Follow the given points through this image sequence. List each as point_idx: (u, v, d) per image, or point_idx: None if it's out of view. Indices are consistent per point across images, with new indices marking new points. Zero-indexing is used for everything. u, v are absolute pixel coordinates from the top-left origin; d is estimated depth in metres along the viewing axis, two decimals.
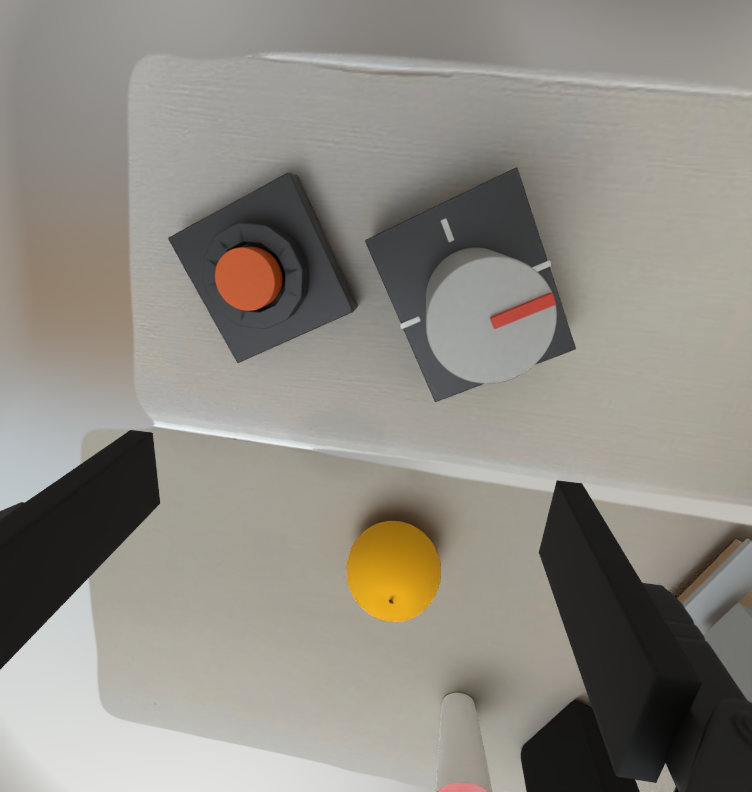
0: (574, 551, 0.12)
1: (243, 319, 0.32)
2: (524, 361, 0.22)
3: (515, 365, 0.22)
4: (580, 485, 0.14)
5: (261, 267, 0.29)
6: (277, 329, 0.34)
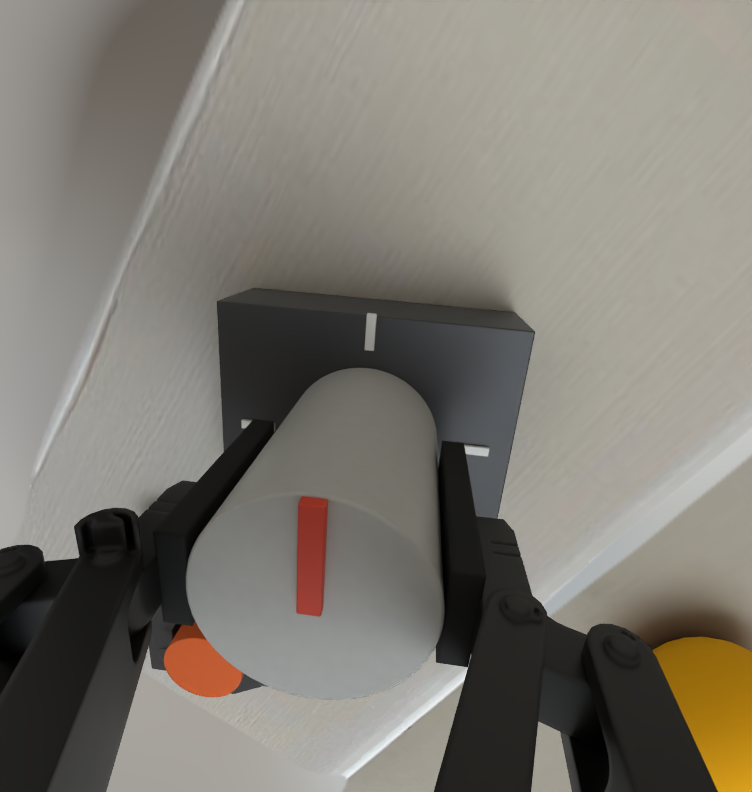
0: (441, 496, 0.14)
1: None
2: (419, 591, 0.10)
3: (418, 608, 0.10)
4: (463, 444, 0.16)
5: (196, 647, 0.22)
6: None
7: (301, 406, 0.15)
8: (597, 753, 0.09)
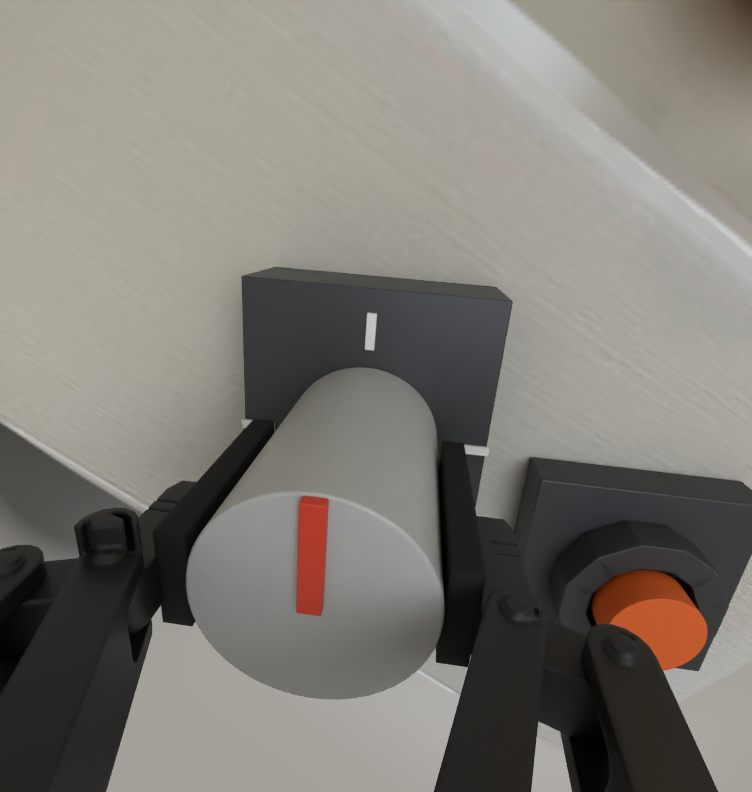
0: (441, 496, 0.14)
1: (704, 578, 0.19)
2: (419, 591, 0.10)
3: (418, 608, 0.10)
4: (463, 444, 0.16)
5: None
6: (667, 515, 0.21)
7: (301, 405, 0.15)
8: (597, 753, 0.09)
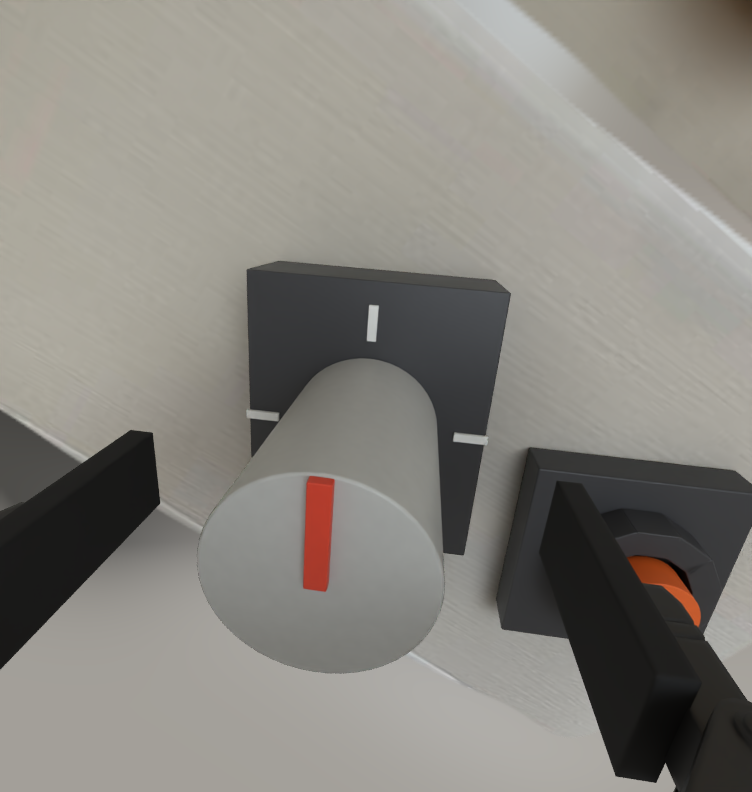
0: (573, 551, 0.12)
1: (698, 563, 0.20)
2: (420, 568, 0.10)
3: (419, 585, 0.11)
4: (580, 485, 0.14)
5: None
6: (662, 503, 0.21)
7: (306, 394, 0.16)
8: None
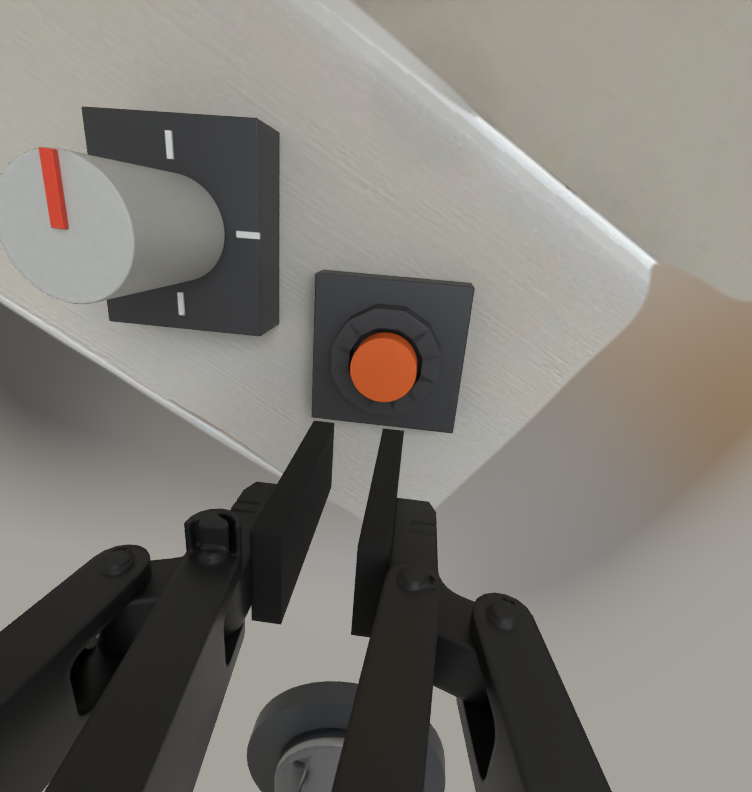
0: None
1: (420, 333, 0.28)
2: (115, 211, 0.18)
3: (117, 224, 0.18)
4: (403, 432, 0.16)
5: (359, 372, 0.28)
6: (405, 298, 0.29)
7: None
8: (489, 715, 0.09)
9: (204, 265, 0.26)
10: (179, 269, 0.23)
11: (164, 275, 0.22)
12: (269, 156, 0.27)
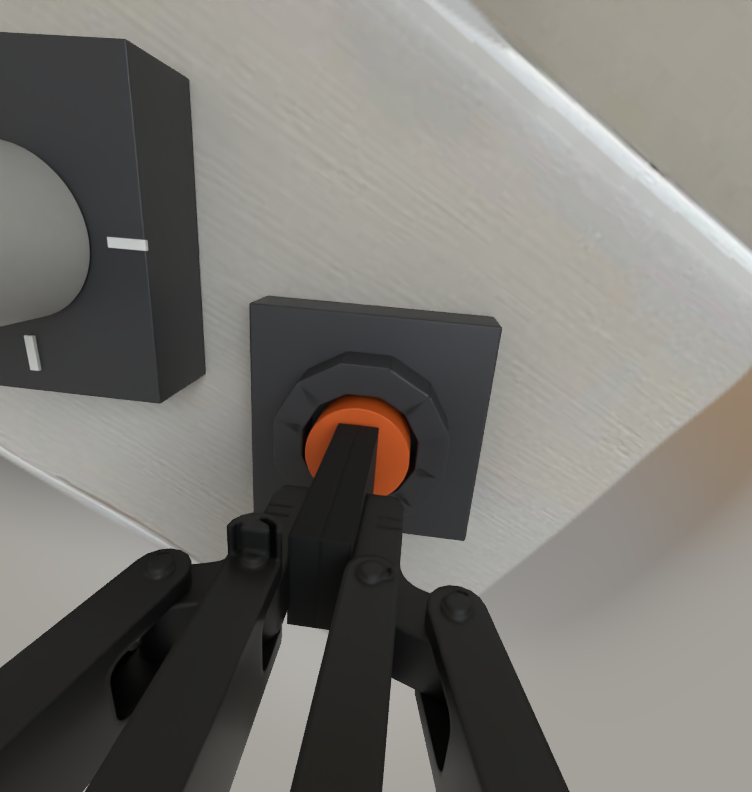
0: None
1: (415, 402, 0.17)
2: None
3: None
4: (378, 428, 0.17)
5: (319, 458, 0.18)
6: (391, 343, 0.18)
7: None
8: (446, 707, 0.09)
9: (44, 295, 0.15)
10: None
11: None
12: (165, 113, 0.16)
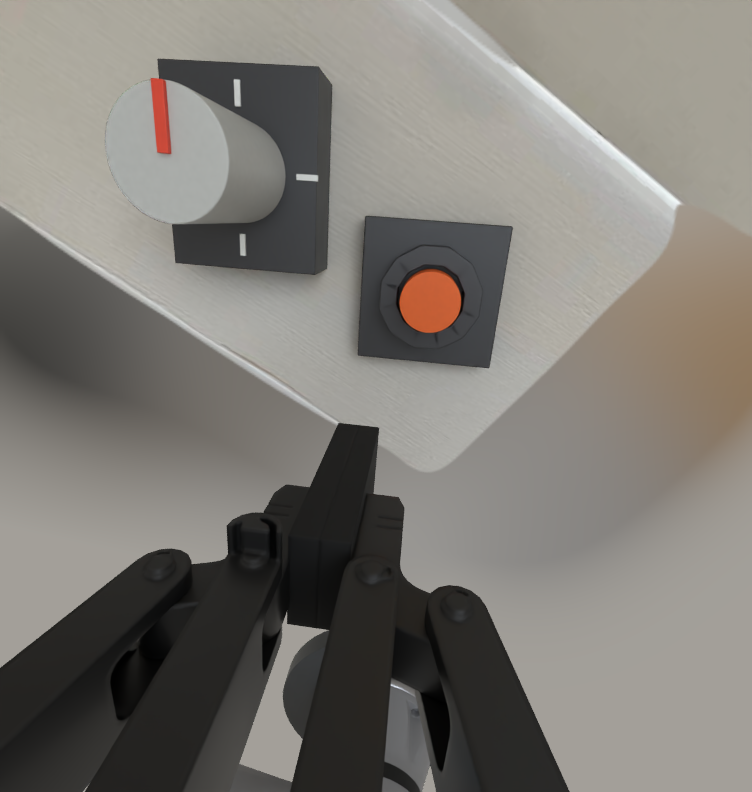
0: None
1: (464, 268, 0.30)
2: (214, 137, 0.21)
3: (215, 149, 0.21)
4: (378, 429, 0.17)
5: (408, 304, 0.30)
6: (448, 238, 0.31)
7: None
8: (446, 707, 0.09)
9: (269, 203, 0.28)
10: (252, 202, 0.26)
11: (242, 206, 0.25)
12: (325, 105, 0.29)
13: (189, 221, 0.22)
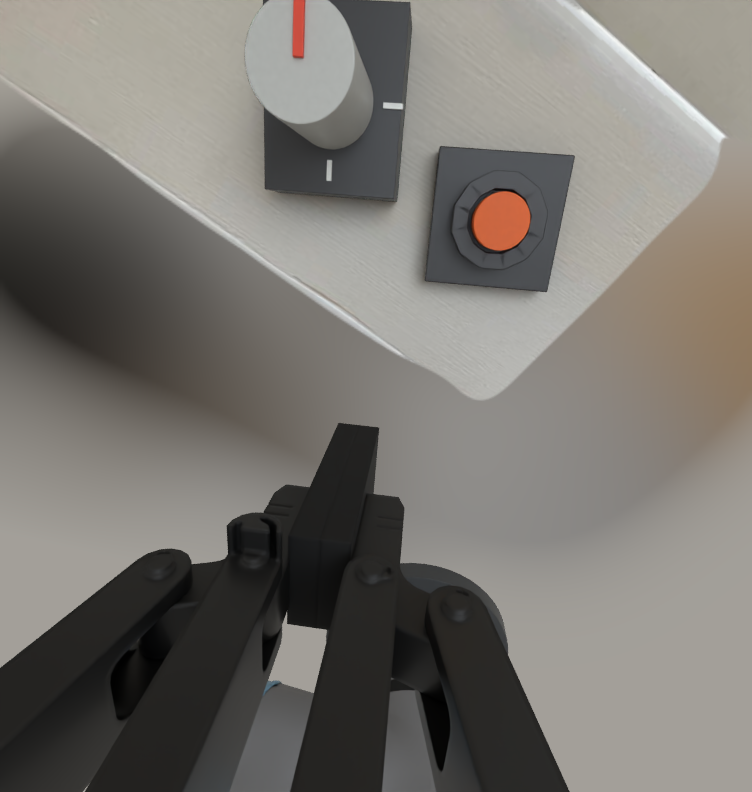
0: None
1: (531, 191, 0.33)
2: (343, 42, 0.24)
3: (343, 53, 0.24)
4: (378, 429, 0.17)
5: (481, 223, 0.33)
6: (515, 167, 0.34)
7: None
8: (446, 707, 0.09)
9: (360, 126, 0.31)
10: (354, 118, 0.29)
11: (349, 118, 0.28)
12: (409, 42, 0.33)
13: (313, 121, 0.25)
